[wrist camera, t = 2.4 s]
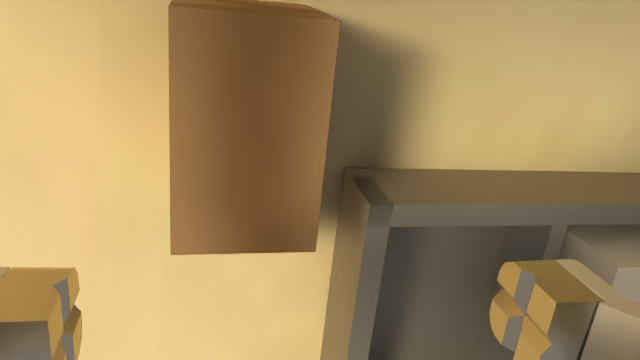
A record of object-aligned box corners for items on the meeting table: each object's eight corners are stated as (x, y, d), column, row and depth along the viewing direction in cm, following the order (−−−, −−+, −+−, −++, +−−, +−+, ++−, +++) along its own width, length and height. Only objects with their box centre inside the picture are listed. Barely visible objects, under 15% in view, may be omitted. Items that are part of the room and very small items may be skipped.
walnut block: (177, 185, 23) (170, 254, 18) (176, -7, 20) (168, 6, 15) (289, 186, 24) (315, 251, 19) (304, 4, 21) (340, 20, 16)
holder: (318, 371, 29) (336, 431, 25) (344, 167, 24) (369, 204, 21) (597, 350, 33) (646, 399, 29) (663, 173, 28) (730, 204, 25)
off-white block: (510, 342, 30) (566, 411, 25) (547, 215, 27) (618, 267, 22) (586, 337, 31) (652, 402, 26) (629, 214, 28) (713, 264, 23)
